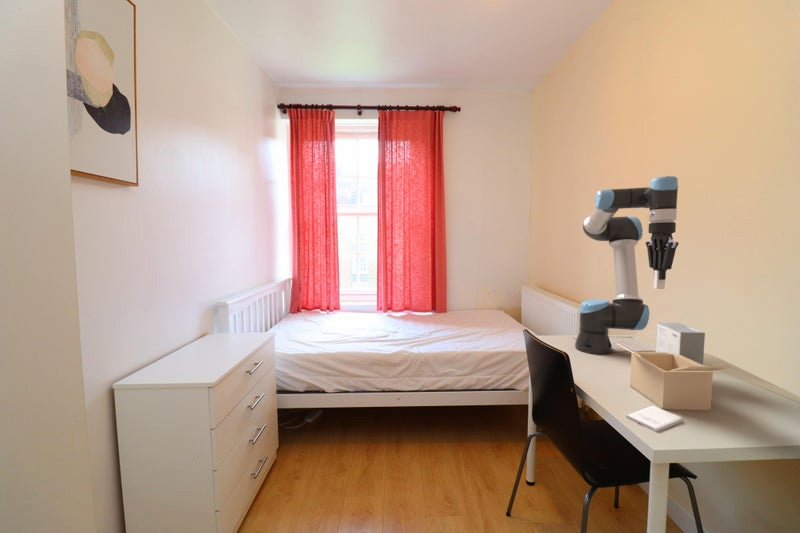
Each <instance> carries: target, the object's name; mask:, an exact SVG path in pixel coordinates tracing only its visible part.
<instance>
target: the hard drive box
mask: <svg viewBox="0 0 800 533" xmlns="http://www.w3.org/2000/svg"><path fill="white" fill-rule="evenodd" d="M705 337H706V332H703V331H701V330H698V329H696V328H693V327H690V326H687V325H684V324H682V323H680V322H665V321H663V322H662V321H661V322H660V321H657V322H656V335H655V352H668V353H669V354H675V355H677V356H678V354H679V355H681V356H684V357H686V358H688V359H690V360H692V361H695V362H697V363H699V364H701V365H704V353H705V339H706V338H705Z"/></svg>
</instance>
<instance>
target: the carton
mask: <svg viewBox="0 0 800 533" xmlns="http://www.w3.org/2000/svg"><path fill="white" fill-rule="evenodd" d="M634 353H636V354H638V355H640V356H642V357H643V358H645V359H646V360H648V361H650V362H651V363H653V364H655V365H656V366H658V367H659V368H658V367H656V366H654V365H652V364H650V363H648V362H647V361H645V360H643V359H641V358H639V357H637V356H636V355H634V354H632V353H630V354H631V358H630V360H631V361H630V382H629V383H630V384H629V386H630V388H632V389H633V390H634V391H636V392H637V393H639V394H640V395H641V396H643V397H644V398H646V399H647V400H649V401H650V402H652V404H654V405H655V406H656V407H657V408H660V409H662V410H670V411H671V410H672V411H673V410H674V411H675V410H676V411H677V410H678V411H679V410H681V411H683V410H684V411H685V410H686V411H687V410H688V411H690V410H691V411H693V410H694V411H711V408H712V394H713V378H714V376H713V375H714V374H713V373H714V372H713V371H671V370H673V369H677V368H682V367H687V366H705V365H704V364H703V365H701V364H699V363H697V362H695V361H692V360H690V359H688V358H686V357H684V356H681V355H679V354H678V356H677V355H675V354H669V353H668V352H656V351H653V352H651V351H650V352H649V351H647V352H645V351H642V352H640V351H639V352H638V351H637V352H636V351H635V352H634Z"/></svg>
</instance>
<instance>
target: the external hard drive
mask: <svg viewBox="0 0 800 533" xmlns="http://www.w3.org/2000/svg"><path fill="white" fill-rule="evenodd" d="M625 418H626V419H628V420H630V421H632V422H634V423H636V424H639V425H641V426H643V427H644V428H647V429H648V430H651V431H653V432H654V433H657V432H660V431H662V430H665V429H667V428H670V427H672V426H675V425H678V424H680V423H682V422H683V419H684V418H682V417H681V416H679V415H677V414H673V413H671V412H669V411H667V410H666V409H661V408H660V407H658V406H656V405H655V406H654V405H651V406H648V407H645V408H642V409H641V410H639V409H638V410H637V411H635V412H632V413H629V414H626V415H625Z"/></svg>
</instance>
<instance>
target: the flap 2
mask: <svg viewBox="0 0 800 533" xmlns="http://www.w3.org/2000/svg"><path fill="white" fill-rule="evenodd" d="M730 368H731V366H726V365H725V366H724V365H723V366H722V365H721V366H714V365H713V366H711V365H708V366H706V365H704V366H687V367H682V368H677V369H673V370H671V371H712V372H713V371H720V370H725V369H730Z"/></svg>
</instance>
